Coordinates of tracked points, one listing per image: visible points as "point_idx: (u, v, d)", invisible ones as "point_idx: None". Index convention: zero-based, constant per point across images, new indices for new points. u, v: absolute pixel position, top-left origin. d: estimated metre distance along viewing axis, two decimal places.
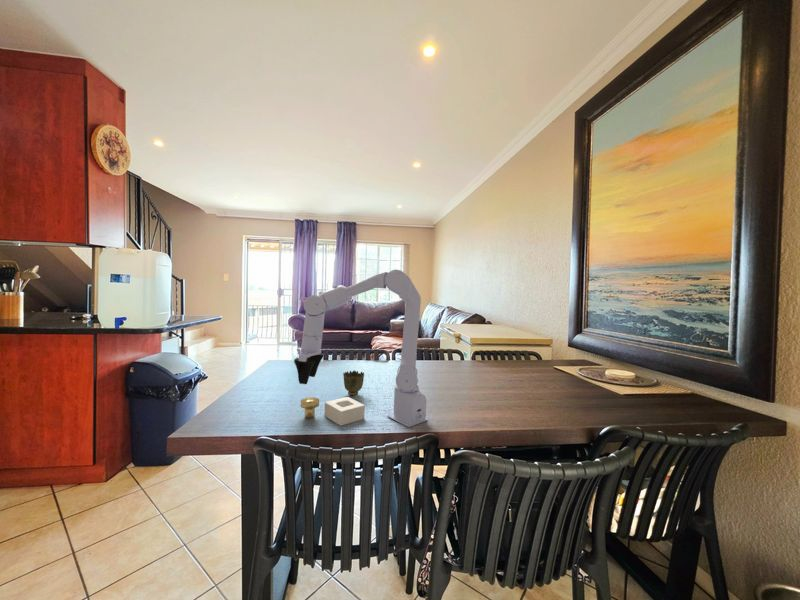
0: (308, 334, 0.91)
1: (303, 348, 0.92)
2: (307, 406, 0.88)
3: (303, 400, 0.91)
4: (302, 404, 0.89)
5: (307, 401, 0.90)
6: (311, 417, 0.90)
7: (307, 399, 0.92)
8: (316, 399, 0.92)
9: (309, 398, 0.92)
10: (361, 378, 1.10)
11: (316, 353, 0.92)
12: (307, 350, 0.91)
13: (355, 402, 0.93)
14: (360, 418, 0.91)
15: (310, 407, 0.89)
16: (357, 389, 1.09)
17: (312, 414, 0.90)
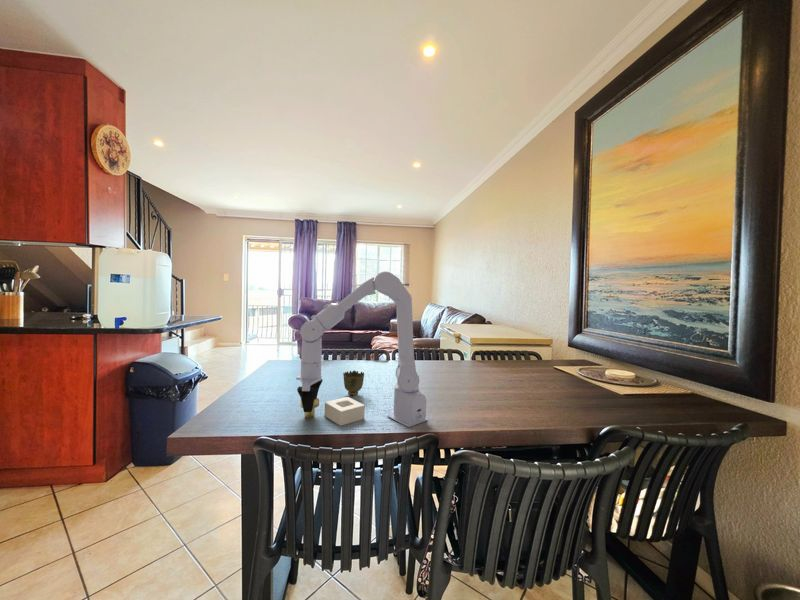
0: (307, 361, 0.88)
1: (303, 377, 0.88)
2: None
3: None
4: None
5: None
6: (311, 417, 0.90)
7: None
8: (316, 399, 0.92)
9: None
10: (361, 378, 1.10)
11: (318, 380, 0.89)
12: (308, 378, 0.88)
13: (355, 402, 0.93)
14: (360, 418, 0.91)
15: None
16: (357, 389, 1.09)
17: (312, 414, 0.90)
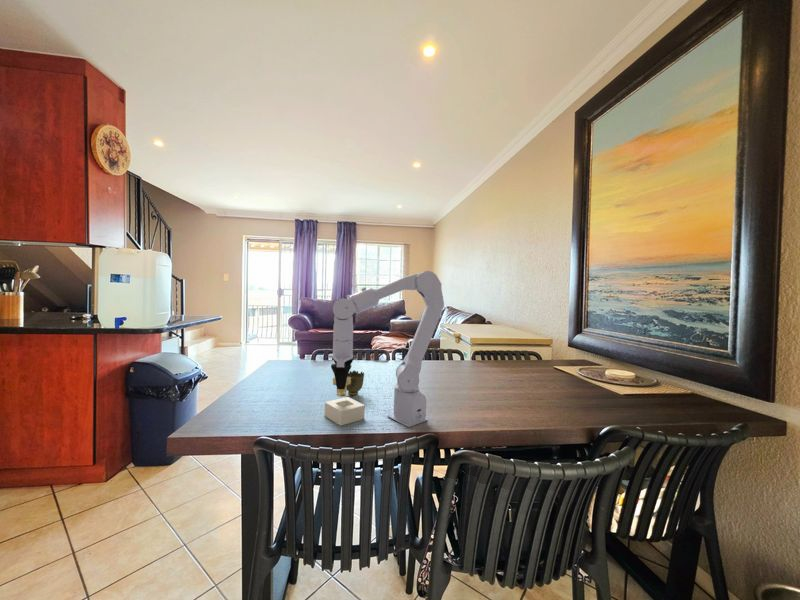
0: (340, 339, 0.89)
1: (336, 354, 0.89)
2: None
3: None
4: (335, 381, 0.90)
5: None
6: (343, 395, 0.91)
7: None
8: (348, 377, 0.93)
9: None
10: (361, 378, 1.10)
11: (350, 357, 0.90)
12: (341, 355, 0.89)
13: (355, 402, 0.93)
14: (360, 418, 0.91)
15: None
16: (357, 389, 1.09)
17: (344, 392, 0.91)
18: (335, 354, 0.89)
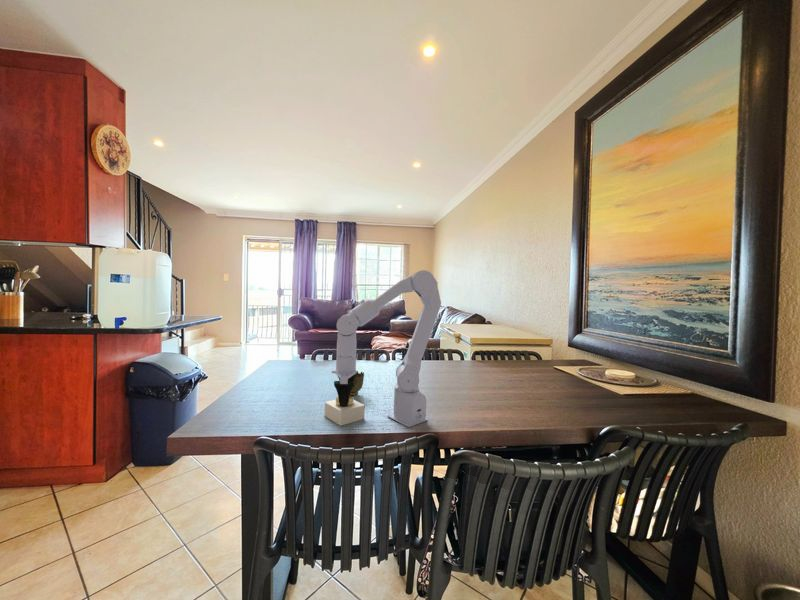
0: (343, 355, 0.89)
1: (339, 370, 0.89)
2: None
3: (338, 398, 0.92)
4: (338, 402, 0.90)
5: None
6: None
7: None
8: (350, 397, 0.93)
9: None
10: (361, 378, 1.10)
11: (353, 373, 0.90)
12: (344, 371, 0.89)
13: (355, 402, 0.93)
14: (360, 418, 0.91)
15: None
16: (357, 389, 1.09)
17: None
18: (338, 370, 0.90)
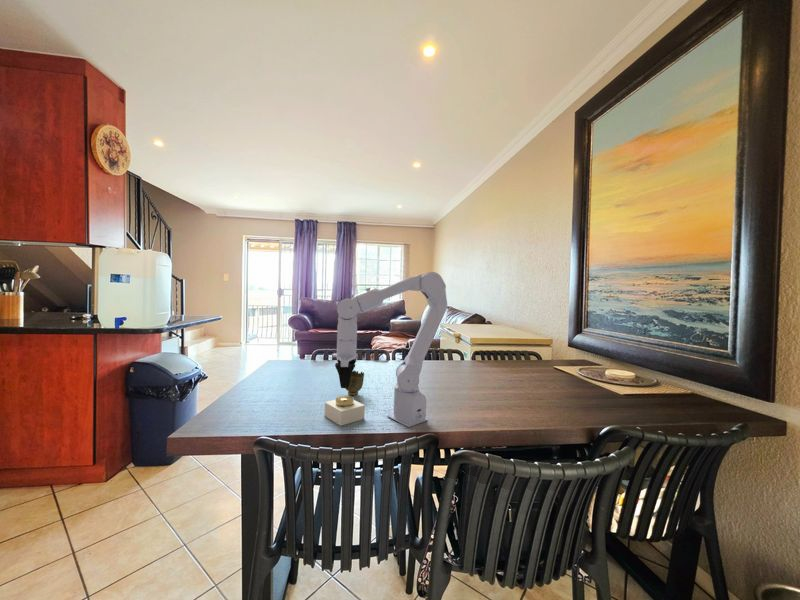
0: (344, 338, 0.89)
1: (339, 354, 0.89)
2: (342, 405, 0.90)
3: (338, 398, 0.92)
4: (338, 402, 0.90)
5: (342, 399, 0.91)
6: None
7: (342, 397, 0.93)
8: (350, 397, 0.93)
9: (344, 397, 0.93)
10: (361, 378, 1.10)
11: (354, 357, 0.90)
12: (345, 355, 0.89)
13: (355, 402, 0.93)
14: (360, 418, 0.91)
15: (346, 405, 0.90)
16: (357, 389, 1.09)
17: None
18: (339, 354, 0.89)
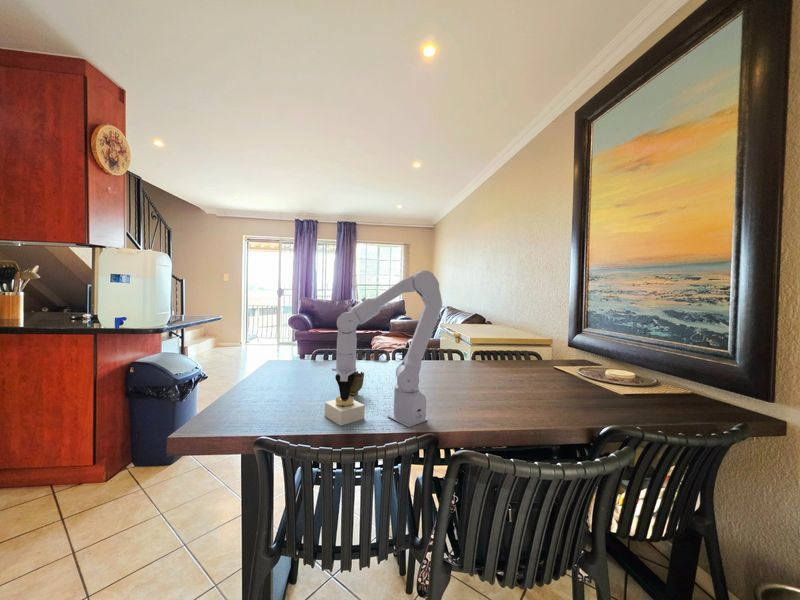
0: (344, 352, 0.89)
1: (339, 368, 0.89)
2: (342, 405, 0.90)
3: (338, 398, 0.92)
4: (338, 402, 0.90)
5: (342, 399, 0.91)
6: None
7: None
8: (350, 397, 0.93)
9: None
10: (361, 378, 1.10)
11: (353, 371, 0.90)
12: (344, 369, 0.89)
13: (355, 402, 0.93)
14: (360, 418, 0.91)
15: (346, 405, 0.90)
16: (357, 389, 1.09)
17: None
18: (338, 367, 0.90)
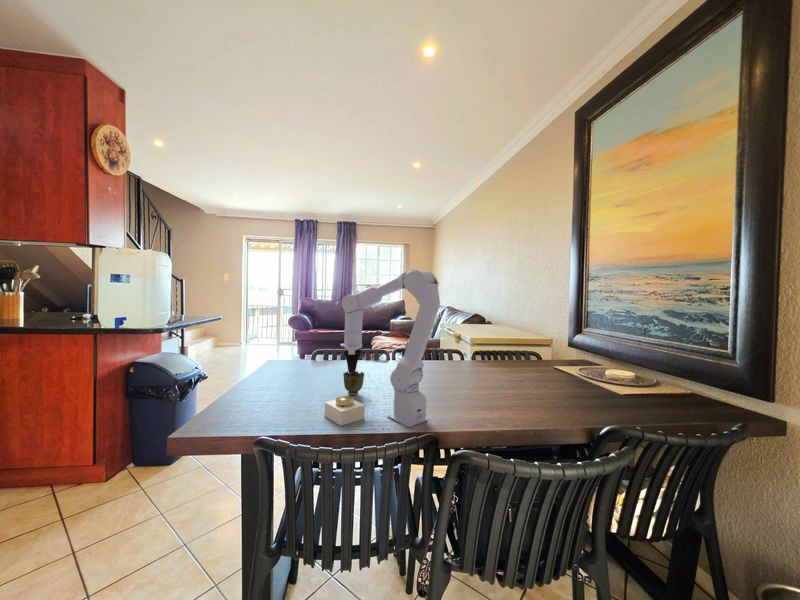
0: (346, 329, 1.01)
1: (347, 343, 1.01)
2: (342, 405, 0.90)
3: (338, 398, 0.92)
4: (338, 402, 0.90)
5: (342, 399, 0.91)
6: None
7: (342, 397, 0.93)
8: (350, 397, 0.93)
9: (344, 397, 0.93)
10: (361, 378, 1.10)
11: (360, 346, 1.01)
12: (352, 344, 1.01)
13: (355, 402, 0.93)
14: (360, 418, 0.91)
15: (346, 405, 0.90)
16: (357, 389, 1.09)
17: None
18: (346, 343, 1.01)
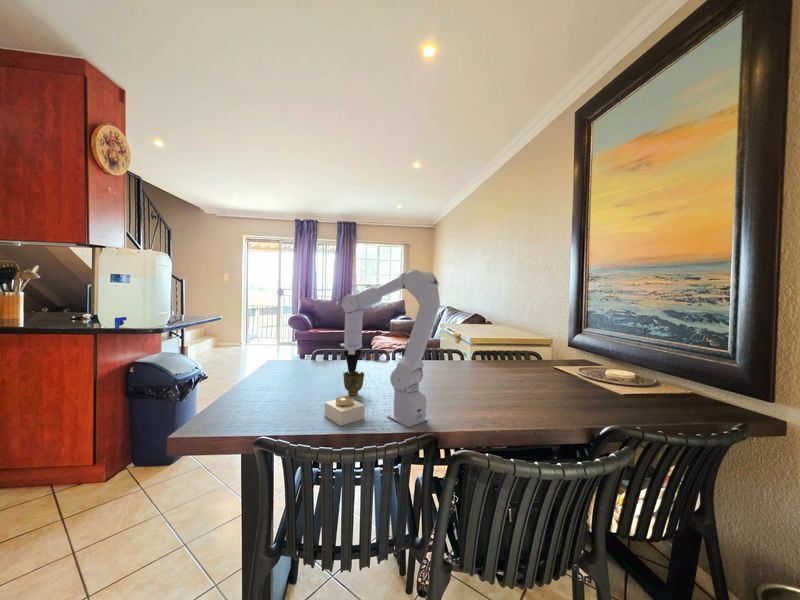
0: (346, 329, 1.01)
1: (347, 343, 1.01)
2: (342, 405, 0.90)
3: (338, 398, 0.92)
4: (338, 402, 0.90)
5: (342, 399, 0.91)
6: None
7: (342, 397, 0.93)
8: (350, 397, 0.93)
9: (344, 397, 0.93)
10: (361, 378, 1.10)
11: (360, 346, 1.01)
12: (352, 344, 1.01)
13: (355, 402, 0.93)
14: (360, 418, 0.91)
15: (346, 405, 0.90)
16: (357, 389, 1.09)
17: None
18: (346, 343, 1.01)
